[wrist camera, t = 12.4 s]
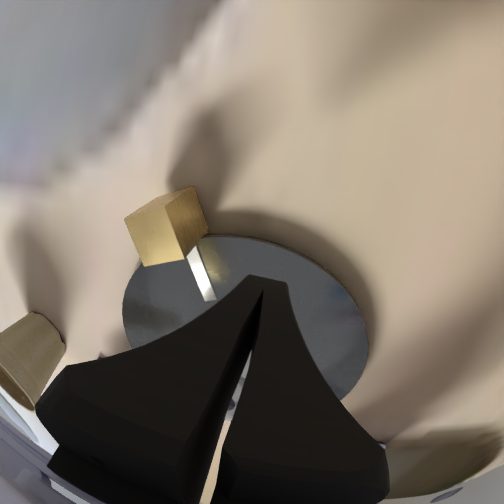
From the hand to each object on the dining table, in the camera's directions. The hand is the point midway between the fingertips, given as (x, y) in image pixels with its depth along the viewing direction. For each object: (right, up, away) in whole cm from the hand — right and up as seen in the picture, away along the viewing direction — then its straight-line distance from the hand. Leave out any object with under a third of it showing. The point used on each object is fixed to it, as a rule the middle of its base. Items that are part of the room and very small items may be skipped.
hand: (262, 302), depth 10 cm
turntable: (-2, -4, +10) cm, 11 cm away
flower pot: (-24, -7, +17) cm, 30 cm away
